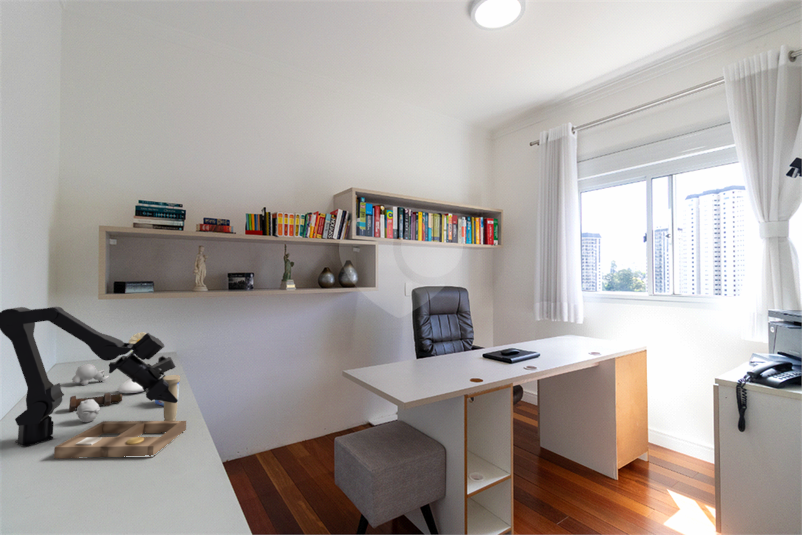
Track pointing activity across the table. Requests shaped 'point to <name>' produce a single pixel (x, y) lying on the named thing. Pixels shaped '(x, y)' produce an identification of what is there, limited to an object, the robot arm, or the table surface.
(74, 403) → the bolt
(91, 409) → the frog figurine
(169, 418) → the handle
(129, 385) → the flower in vase
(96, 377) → the chubby cartoon animal
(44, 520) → the table surface
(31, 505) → the table surface
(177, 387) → the medicine box
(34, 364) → the robot arm
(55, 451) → the socket board
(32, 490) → the table surface
